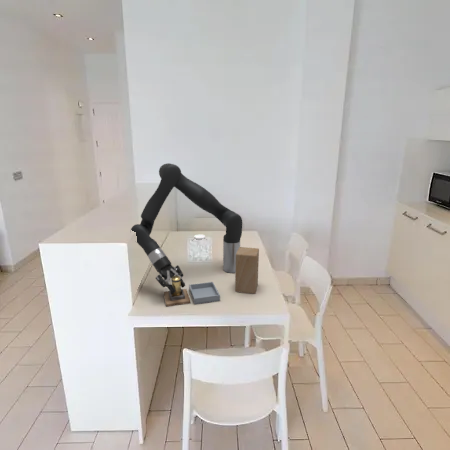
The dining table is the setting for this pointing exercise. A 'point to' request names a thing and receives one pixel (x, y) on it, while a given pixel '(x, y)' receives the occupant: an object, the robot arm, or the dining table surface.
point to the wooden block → (246, 270)
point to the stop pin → (176, 286)
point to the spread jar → (199, 237)
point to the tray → (204, 293)
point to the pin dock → (176, 298)
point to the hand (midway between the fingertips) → (179, 289)
